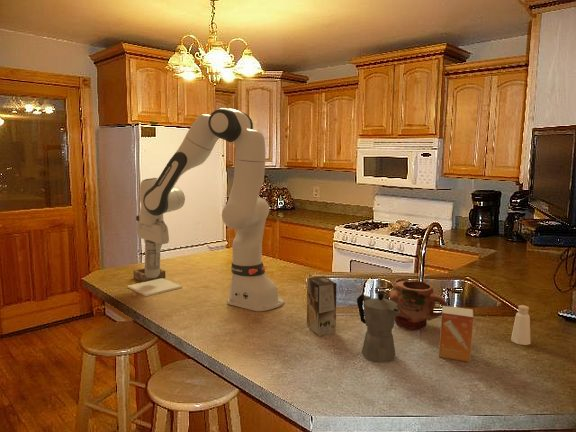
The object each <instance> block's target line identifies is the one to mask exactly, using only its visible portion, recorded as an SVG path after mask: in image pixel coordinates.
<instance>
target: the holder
mask: <svg viewBox="0 0 576 432" xmlns="http://www.w3.org/2000/svg"><path fill="white" fill-rule="evenodd" d="M132 272H133V279H135V280H137V281H138V282H140V283H142V282H147V281H151V280H156V279H160V278H164V279H166V276H167V275H166V270H164V269H161V268H160V274H159V275H158V277H156V278H148V277H146V275H145V267H144V268H141V269H136V270H135V269H134V270H133V271H132Z"/></svg>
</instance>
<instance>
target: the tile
mask: <svg viewBox="0 0 576 432" xmlns="http://www.w3.org/2000/svg"><path fill="white" fill-rule="evenodd" d="M127 289H130V290H132V291H133V292H136V293H138V294H140V295H141V296H143V297H151V296H154V295H158V294H162V293H166V292H171V291H175V290H179V289H183V285H181V284H178V283H177V282H176V283H175V282H173V281H171V280H169V279H166V278H165V279H164V278H160V279H156V280H151V281H147V282H137V283H133V284H129V285H127Z"/></svg>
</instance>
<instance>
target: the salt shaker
mask: <svg viewBox="0 0 576 432" xmlns="http://www.w3.org/2000/svg"><path fill="white" fill-rule="evenodd" d="M517 308H518V309H517V310H518V311H517V312H515V318H514V323H513V327H512V328H513V329H512V332H511V337H510V338H511V339H510V340H511V342H512V343H515V344H516V345H520V346H521V345H522V346H528V345H531V318H530V314H529V310H530V307H529V306H527V305H523V304H520V305H517Z"/></svg>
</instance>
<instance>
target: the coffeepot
mask: <svg viewBox="0 0 576 432" xmlns="http://www.w3.org/2000/svg"><path fill="white" fill-rule="evenodd" d="M356 303H357V307H358V312H359V313H358V314H359V318H360V322H361V323H363V324H365V326H366V328H367V329H366V332H365V335H364V338H363V339H364V340H363V344H362V349H361V354H362V356H363V358H365V359H366V360H368V361H371V362H374V363H388V362H392V361H394V359H395V357H396V349H395V342H394V335H393V332H392V331H393V329H394V327H395V324H396V322H395V318H396V315H397V314H399V313H400V310H398V304H396V303H395V302H394V301H392V300H390V299H387V298H384V292H378V293H377V298H376V297H375V298H374V297H373V298H372V297H371V296H370V295H365V294H360V295H359V296H358V297H357V298H356Z"/></svg>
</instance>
